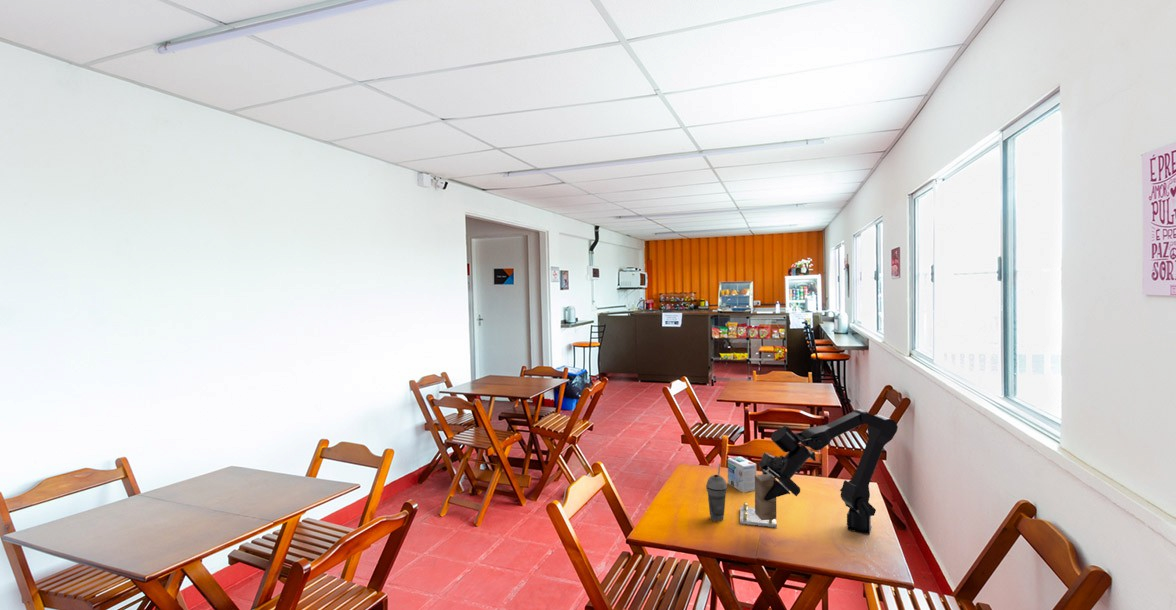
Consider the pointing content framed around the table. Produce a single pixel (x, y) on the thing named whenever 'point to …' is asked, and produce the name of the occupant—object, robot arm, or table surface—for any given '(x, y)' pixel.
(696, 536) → the table surface
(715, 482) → the beverage cup
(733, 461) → the light bulb box
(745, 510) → the plate
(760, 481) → the walnut block
